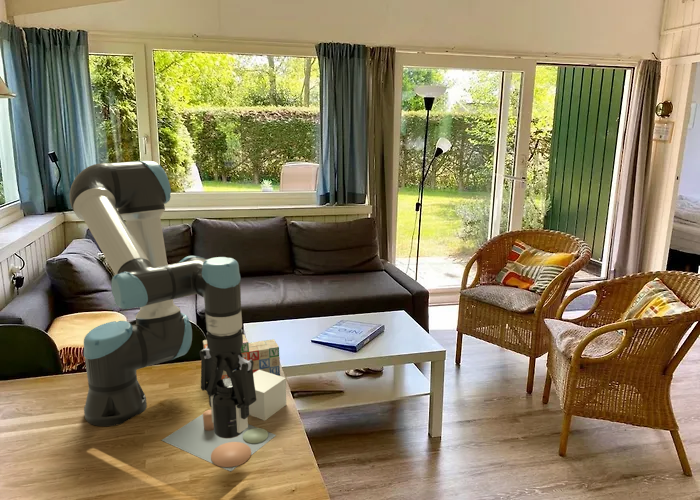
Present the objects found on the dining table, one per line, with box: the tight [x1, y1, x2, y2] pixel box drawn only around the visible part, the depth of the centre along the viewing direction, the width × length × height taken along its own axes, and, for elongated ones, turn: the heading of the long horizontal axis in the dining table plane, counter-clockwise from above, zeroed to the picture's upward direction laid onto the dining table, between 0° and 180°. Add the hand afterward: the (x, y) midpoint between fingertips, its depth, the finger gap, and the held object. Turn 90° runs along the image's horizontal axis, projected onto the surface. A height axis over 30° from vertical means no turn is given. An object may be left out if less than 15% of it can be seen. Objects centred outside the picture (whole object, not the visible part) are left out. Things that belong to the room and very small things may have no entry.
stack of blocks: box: [202, 334, 281, 379], centre depth 163 cm, size 21×6×12 cm, turn 111°
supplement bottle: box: [213, 378, 244, 439], centre depth 122 cm, size 7×7×12 cm
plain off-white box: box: [249, 370, 287, 421], centre depth 144 cm, size 9×9×9 cm
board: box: [160, 409, 277, 473], centre depth 131 cm, size 22×16×5 cm
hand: (229, 424), depth 123 cm, fingers closed on supplement bottle, 7 cm apart
